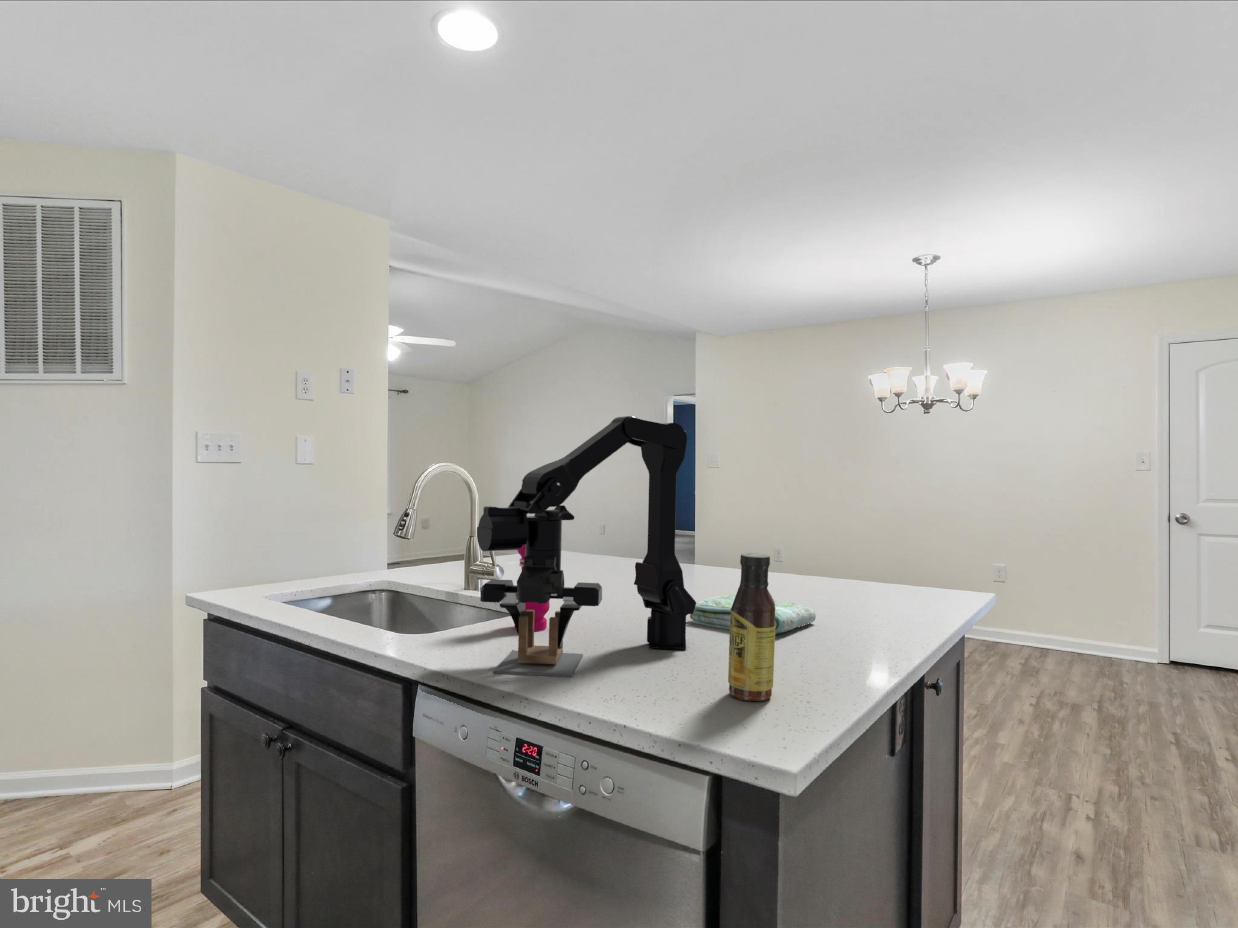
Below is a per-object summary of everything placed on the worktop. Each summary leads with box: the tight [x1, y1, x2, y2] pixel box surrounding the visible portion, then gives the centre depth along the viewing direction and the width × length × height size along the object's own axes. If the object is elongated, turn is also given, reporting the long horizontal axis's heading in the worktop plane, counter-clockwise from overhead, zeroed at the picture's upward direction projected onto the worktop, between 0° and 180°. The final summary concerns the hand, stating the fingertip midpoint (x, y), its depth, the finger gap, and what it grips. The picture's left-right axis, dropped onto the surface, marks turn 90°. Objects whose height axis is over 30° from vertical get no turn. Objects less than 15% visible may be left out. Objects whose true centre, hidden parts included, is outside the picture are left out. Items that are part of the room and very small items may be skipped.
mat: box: [493, 650, 584, 678], centre depth 111 cm, size 12×12×1 cm
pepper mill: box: [514, 544, 550, 632], centre depth 137 cm, size 7×7×20 cm
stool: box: [517, 610, 564, 664], centre depth 111 cm, size 6×6×7 cm
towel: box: [689, 594, 817, 635], centre depth 146 cm, size 18×21×5 cm
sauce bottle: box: [727, 552, 776, 702], centre depth 97 cm, size 6×6×20 cm
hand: (541, 646), depth 111 cm, fingers closed on stool, 5 cm apart
